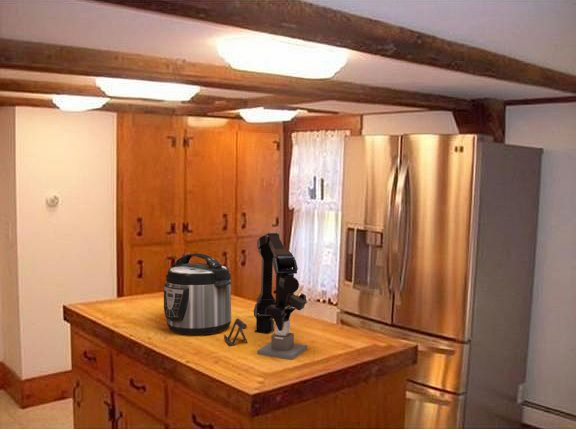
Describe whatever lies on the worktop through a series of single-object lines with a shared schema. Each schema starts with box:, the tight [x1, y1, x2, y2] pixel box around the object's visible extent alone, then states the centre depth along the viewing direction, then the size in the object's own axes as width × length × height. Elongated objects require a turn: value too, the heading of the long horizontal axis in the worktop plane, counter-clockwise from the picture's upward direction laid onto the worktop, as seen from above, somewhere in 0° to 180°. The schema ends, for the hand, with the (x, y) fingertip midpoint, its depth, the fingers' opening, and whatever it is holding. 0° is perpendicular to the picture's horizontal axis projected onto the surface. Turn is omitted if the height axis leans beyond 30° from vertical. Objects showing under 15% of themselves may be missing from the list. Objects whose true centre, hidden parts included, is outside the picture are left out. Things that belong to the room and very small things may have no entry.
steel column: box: [275, 318, 291, 337], centre depth 217 cm, size 4×4×9 cm
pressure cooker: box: [163, 252, 232, 336], centre depth 246 cm, size 30×28×32 cm
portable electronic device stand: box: [223, 318, 248, 347], centre depth 228 cm, size 9×8×8 cm
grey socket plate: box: [256, 332, 308, 361], centre depth 217 cm, size 14×14×6 cm
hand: (282, 329), depth 217 cm, fingers closed on steel column, 4 cm apart
